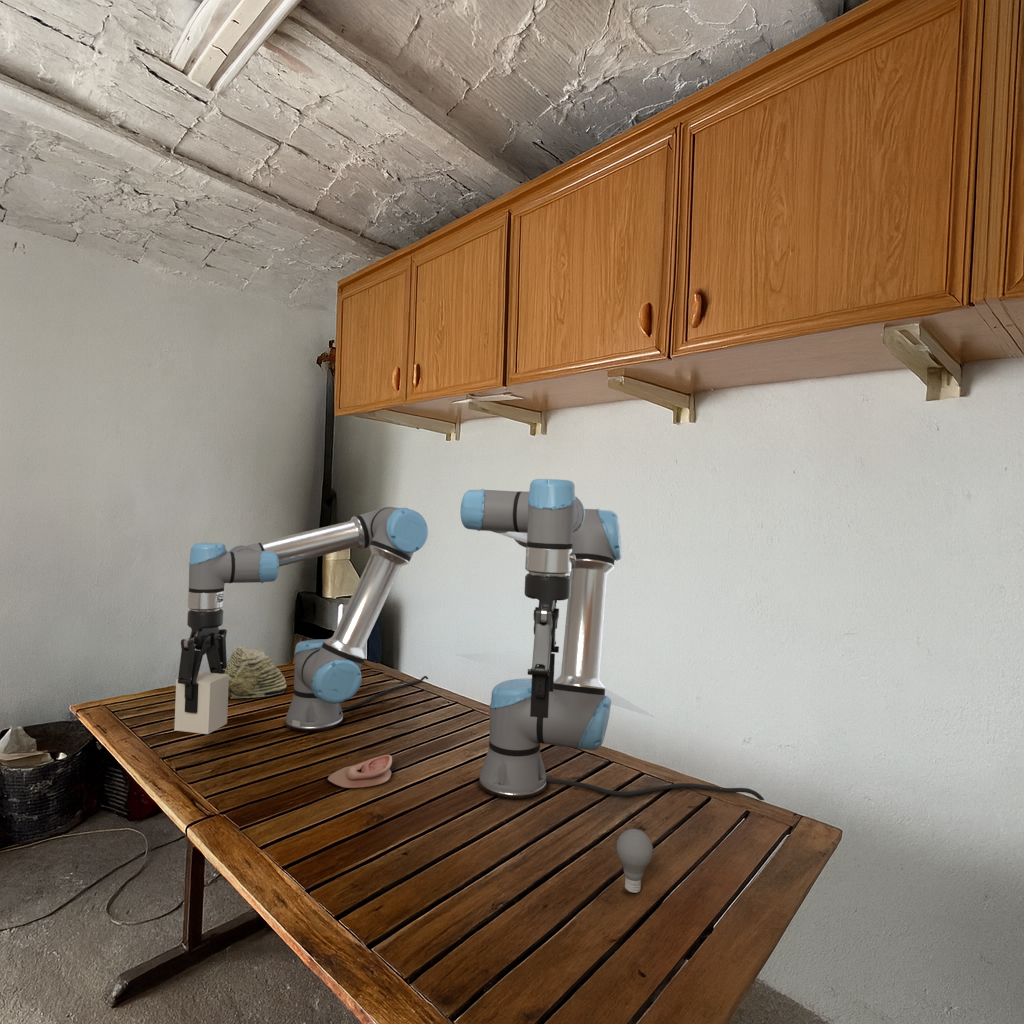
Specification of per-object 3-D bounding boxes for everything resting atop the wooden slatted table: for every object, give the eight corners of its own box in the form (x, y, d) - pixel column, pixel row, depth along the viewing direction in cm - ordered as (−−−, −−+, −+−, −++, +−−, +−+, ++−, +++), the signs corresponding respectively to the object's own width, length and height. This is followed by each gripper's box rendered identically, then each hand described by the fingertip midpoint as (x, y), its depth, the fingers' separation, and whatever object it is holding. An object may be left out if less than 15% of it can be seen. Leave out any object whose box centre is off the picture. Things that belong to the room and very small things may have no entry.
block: (174, 730, 146) (176, 679, 145) (194, 720, 153) (196, 671, 153) (208, 734, 144) (210, 682, 144) (227, 723, 151) (229, 674, 151)
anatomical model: (321, 766, 139) (345, 747, 150) (320, 784, 139) (344, 763, 150) (378, 774, 136) (398, 753, 147) (377, 792, 136) (397, 770, 148)
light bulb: (610, 879, 108) (613, 822, 108) (644, 879, 109) (647, 822, 109) (619, 902, 102) (622, 840, 102) (655, 901, 103) (658, 840, 103)
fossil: (218, 695, 195) (220, 647, 195) (278, 685, 208) (279, 640, 207) (228, 703, 189) (230, 653, 188) (289, 692, 201) (290, 645, 201)
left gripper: (192, 617, 137) (188, 722, 138) (245, 603, 157) (241, 695, 158) (161, 615, 139) (157, 719, 139) (217, 601, 159) (214, 692, 159)
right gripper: (568, 584, 91) (561, 731, 91) (573, 567, 115) (568, 683, 116) (516, 581, 91) (510, 727, 92) (532, 565, 116) (527, 679, 117)
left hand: (202, 706), depth 148 cm, fingers closed on block, 7 cm apart
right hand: (542, 703), depth 104 cm, fingers open, 13 cm apart
